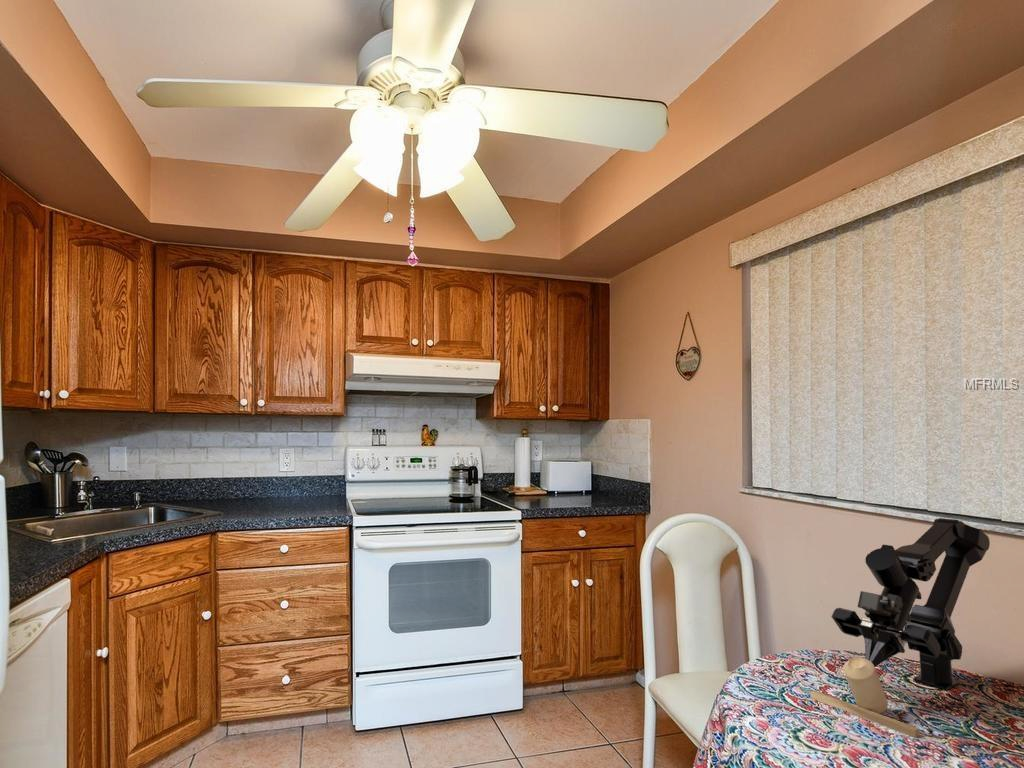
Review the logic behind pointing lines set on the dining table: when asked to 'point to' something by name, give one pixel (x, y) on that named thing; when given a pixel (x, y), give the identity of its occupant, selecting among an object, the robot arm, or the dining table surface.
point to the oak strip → (866, 714)
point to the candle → (865, 684)
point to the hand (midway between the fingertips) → (868, 667)
